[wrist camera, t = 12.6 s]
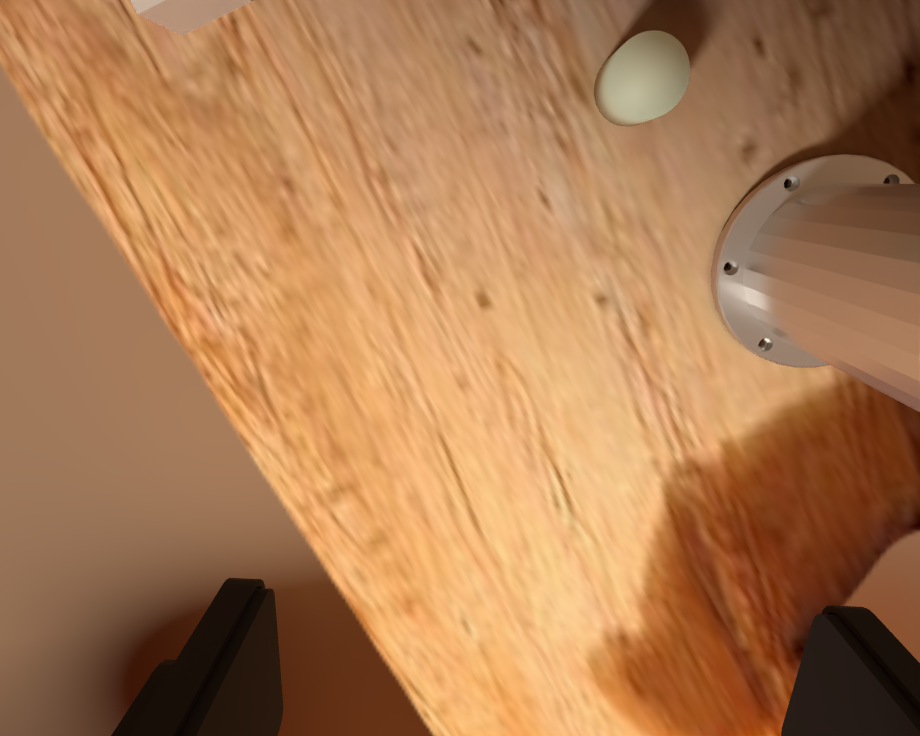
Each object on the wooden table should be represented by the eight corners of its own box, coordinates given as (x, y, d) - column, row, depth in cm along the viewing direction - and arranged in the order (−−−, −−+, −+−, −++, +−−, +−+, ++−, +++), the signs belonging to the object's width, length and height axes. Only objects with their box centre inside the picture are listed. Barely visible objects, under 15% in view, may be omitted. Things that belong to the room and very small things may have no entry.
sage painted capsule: (668, 47, 31) (694, 29, 28) (662, 125, 33) (685, 118, 29) (596, 49, 32) (611, 31, 28) (592, 127, 33) (606, 120, 29)
